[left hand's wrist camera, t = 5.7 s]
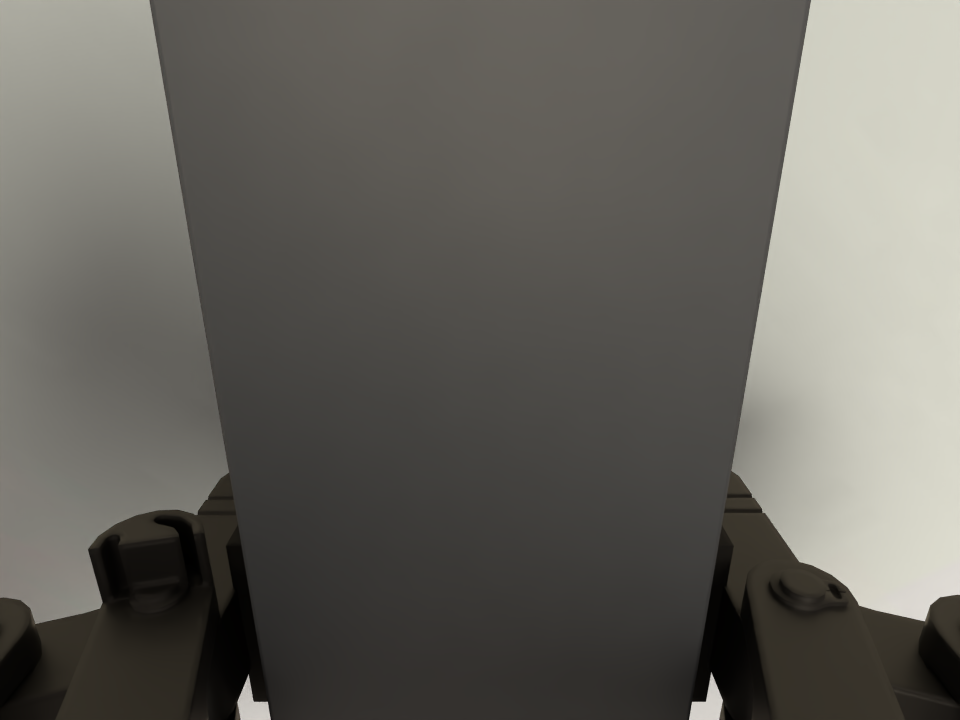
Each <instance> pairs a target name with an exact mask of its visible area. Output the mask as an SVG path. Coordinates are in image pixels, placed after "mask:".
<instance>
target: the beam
mask: <svg viewBox="0 0 960 720" xmlns="http://www.w3.org/2000/svg"><path fill="white" fill-rule="evenodd" d="M810 3H811V0H150V6H151V12H152V18H153V24H154V30H155V36H156V42H157V47H158V53H159V59H160V65H161V71H162V77H163V83H164V89H165V95H166V101H167V107H168V113H169V119H170V124H171V130H172V136H173V142H174V148H175V154H176V160H177V166H178V172H179V178H180V184H181V190H182V196H183V201H184V207H185V213H186V219H187V225H188V231H189V237H190V243H191V249H192V255H193V261H194V267H195V273H196V278H197V284H198V290H199V296H200V302H201V308H202V314H203V320H204V326H205V332H206V338H207V344H208V350H209V356H210V361H211V367H212V373H213V379H214V385H215V391H216V397H217V403H218V409H219V415H220V421H221V427H222V433H223V438H224V444H225V450H226V456H227V462H228V468H229V474H230V480H231V486H232V492H233V498H234V504H235V510H236V515H237V521H238V527H239V533H240V539H241V545H242V551H243V557H244V563H245V569H246V575H247V581H248V587H249V593H250V598H251V604H252V610H253V616H254V622H255V628H256V634H257V640H258V646H259V652H260V658H261V664H262V670H263V675H264V681H265V687H266V693H267V699H268V705H269V711H270V717H271V720H689V716H690V710H691V704H692V699H693V693H694V687H695V681H696V675H697V669H698V663H699V657H700V651H701V645H702V640H703V634H704V628H705V622H706V616H707V610H708V604H709V598H710V592H711V586H712V581H713V575H714V569H715V563H716V557H717V551H718V545H719V539H720V533H721V527H722V522H723V516H724V510H725V504H726V498H727V492H728V486H729V480H730V474H731V469H732V463H733V457H734V451H735V445H736V439H737V433H738V427H739V421H740V415H741V410H742V404H743V398H744V392H745V386H746V380H747V374H748V368H749V362H750V356H751V351H752V345H753V339H754V333H755V327H756V321H757V315H758V309H759V303H760V297H761V292H762V286H763V280H764V274H765V268H766V262H767V256H768V250H769V244H770V238H771V233H772V227H773V221H774V215H775V209H776V203H777V197H778V191H779V185H780V179H781V174H782V168H783V162H784V156H785V150H786V144H787V138H788V132H789V126H790V120H791V115H792V109H793V103H794V97H795V91H796V85H797V79H798V73H799V67H800V62H801V56H802V50H803V44H804V38H805V32H806V26H807V20H808V14H809V8H810Z"/></svg>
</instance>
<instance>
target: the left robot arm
mask: <svg viewBox="0 0 960 720" xmlns="http://www.w3.org/2000/svg"><path fill="white" fill-rule="evenodd" d="M88 551H89V555H90V558H91V562H92V566H93V569H94V573H95V576H96V580H97V584H98V587H99V591H100V594H101V598H102V601H103V604H102V606H101V608H100V609H97V610H94V611H91V612H87V613H84V614H79V615H75V616H70V617H66V618H61V619H57V620H52V621H48V622H43V623H39V624H35V622H34V619H33V616H32V613H31V610H30V608H29V607H28V606H27V605H25V604H24V603H23V602H22V601H21V600H15V599H9V598H0V720H240V714H239V708H238V703H237V701H238V699H239V696H240V694H241V692H242V689H243V687H244V684H245V682H246V679H247V677H248V674H249V678H250V683H251V689H252V694H253V700H254V702H268V699H267V693H266V687H265V681H264V675H263V670H262V664H261V658H260V652H259V646H258V640H257V634H256V628H255V622H254V616H253V610H252V604H251V598H250V593H249V587H248V581H247V575H246V569H245V563H244V557H243V551H242V545H241V539H240V533H239V527H238V521H237V515H236V510H235V504H234V498H233V492H232V486H231V480H230V474H229V473H228V474H227V475H225V476H224V477H222V478H221V479H220V480H219V482H218V483H217V485H216V486H215V488H214V489H213V491H212V492H211V493H210V495H209V496H208V500H206V501H205V502H204V503H203V505H202V506H201V508H200V509H199V511H198V515H194V514H192V513H188V512H184V511H180V510H159V511H154V512H149V513H145V514H141V515H137V516H134V517H132V518H129V519H127V520H125V521H122V522H120V523H118V524H115V525H114V526H113V527H111V528H110V529H108V530H107V531H105V532H104V533H102V534H101V535H100V536H98V538H97V539H96V540H95V541H94V543H93V544H92V545H91V546H90V548H89V549H88ZM711 672H712V675H713V677H714V679H715V682H716V684H717V687H718V689H719V692H720V694H721V697H722V699H723V703H722V708H721V714H720V719H719V720H960V595H953V596H947V597H940V598H939V599H938V600H936V601H935V602H934V603H933V604H932V605H930V608H929V611H928V614H927V617H926V620H925V621H920V620H915V619H911V618H906V617H902V616H897V615H893V614H888V613H884V612H879V611H875V610H872V609H868V608H865V607H861V606H859V605H858V602H857V601H856V599H855V598H854V596H853V595H852V593H851V592H850V591H849V589H848V588H847V587H846V586H845V585H843V584H842V583H841V582H840V581H838V580H837V579H836V578H835V577H833V576H832V575H830V574H828V573H826V572H824V571H822V570H820V569H818V568H816V567H814V566H812V565H808V564H805V563H801V562H799V561H798V560H797V558H796V557H795V555H794V554H793V553H792V551H791V550H790V548H789V547H788V545H787V544H786V543H785V541H784V540H783V538H782V537H781V535H780V534H779V533H778V531H777V530H776V528H775V527H774V525H773V524H772V523H771V521H770V520H769V518H768V517H767V515H766V514H765V513H762V508H761V507H760V506H759V504H758V503H757V501H756V500H755V498H752V494H751V493H750V491H749V490H748V488H747V487H746V486H745V484H744V483H743V481H742V480H741V478H740V477H739V476H738V475H736V474H735V473H733V472H732V471H731V474H730V480H729V486H728V492H727V498H726V504H725V510H724V516H723V522H722V527H721V533H720V539H719V545H718V551H717V557H716V563H715V569H714V575H713V581H712V586H711V592H710V598H709V604H708V610H707V616H706V622H705V628H704V634H703V640H702V645H701V651H700V657H699V663H698V669H697V675H696V681H695V687H694V693H693V699H692V702H706V698H707V692H708V687H709V681H710V676H711Z"/></svg>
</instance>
